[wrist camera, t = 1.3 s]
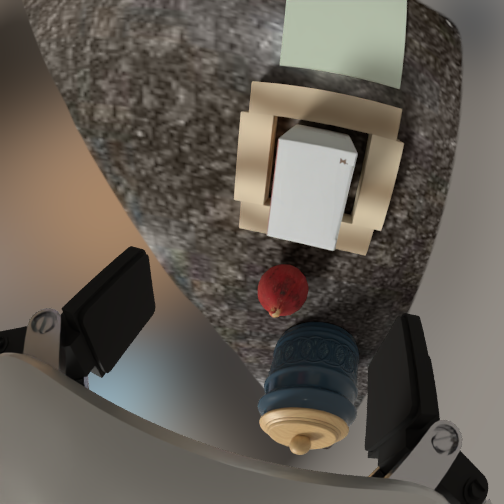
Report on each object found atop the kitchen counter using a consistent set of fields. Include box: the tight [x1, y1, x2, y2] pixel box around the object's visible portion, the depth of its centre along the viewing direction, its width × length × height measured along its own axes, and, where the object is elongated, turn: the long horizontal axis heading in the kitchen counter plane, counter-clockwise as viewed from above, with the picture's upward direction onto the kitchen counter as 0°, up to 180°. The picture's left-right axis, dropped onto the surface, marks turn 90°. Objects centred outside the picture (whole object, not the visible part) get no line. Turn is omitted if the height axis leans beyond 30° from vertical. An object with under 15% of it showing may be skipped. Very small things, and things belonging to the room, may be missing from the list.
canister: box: [258, 322, 359, 455], centre depth 34 cm, size 13×13×18 cm
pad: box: [280, 0, 407, 89], centre depth 19 cm, size 12×12×1 cm
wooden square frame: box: [234, 81, 404, 256], centre depth 27 cm, size 16×16×2 cm
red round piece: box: [258, 264, 308, 318], centre depth 33 cm, size 6×6×8 cm
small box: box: [266, 124, 358, 251], centre depth 24 cm, size 8×6×10 cm
